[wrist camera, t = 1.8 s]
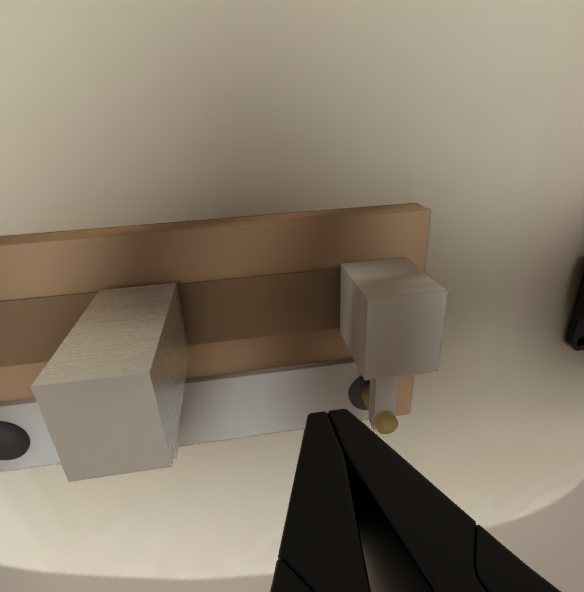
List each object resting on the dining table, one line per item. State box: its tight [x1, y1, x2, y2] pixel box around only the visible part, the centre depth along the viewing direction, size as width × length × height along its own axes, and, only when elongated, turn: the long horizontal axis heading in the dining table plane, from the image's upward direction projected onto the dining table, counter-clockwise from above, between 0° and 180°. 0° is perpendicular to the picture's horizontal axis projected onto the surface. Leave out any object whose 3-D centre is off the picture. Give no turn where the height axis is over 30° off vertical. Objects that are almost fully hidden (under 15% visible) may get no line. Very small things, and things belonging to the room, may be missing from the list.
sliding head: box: [31, 283, 190, 482], centre depth 12 cm, size 2×6×5 cm, turn 3°
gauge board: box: [0, 203, 448, 472], centre depth 14 cm, size 20×9×4 cm, turn 93°
